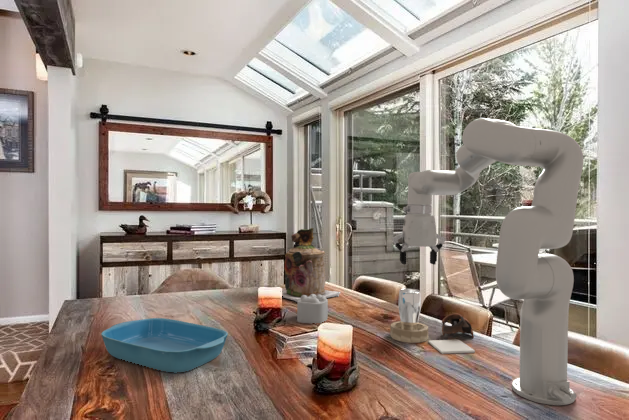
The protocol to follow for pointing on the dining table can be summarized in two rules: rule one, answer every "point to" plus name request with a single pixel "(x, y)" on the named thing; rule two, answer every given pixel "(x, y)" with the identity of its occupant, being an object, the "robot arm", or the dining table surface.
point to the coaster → (451, 346)
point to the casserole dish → (164, 343)
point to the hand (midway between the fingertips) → (418, 263)
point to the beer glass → (409, 308)
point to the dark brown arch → (456, 325)
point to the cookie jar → (305, 268)
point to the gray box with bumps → (312, 309)
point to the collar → (409, 333)
